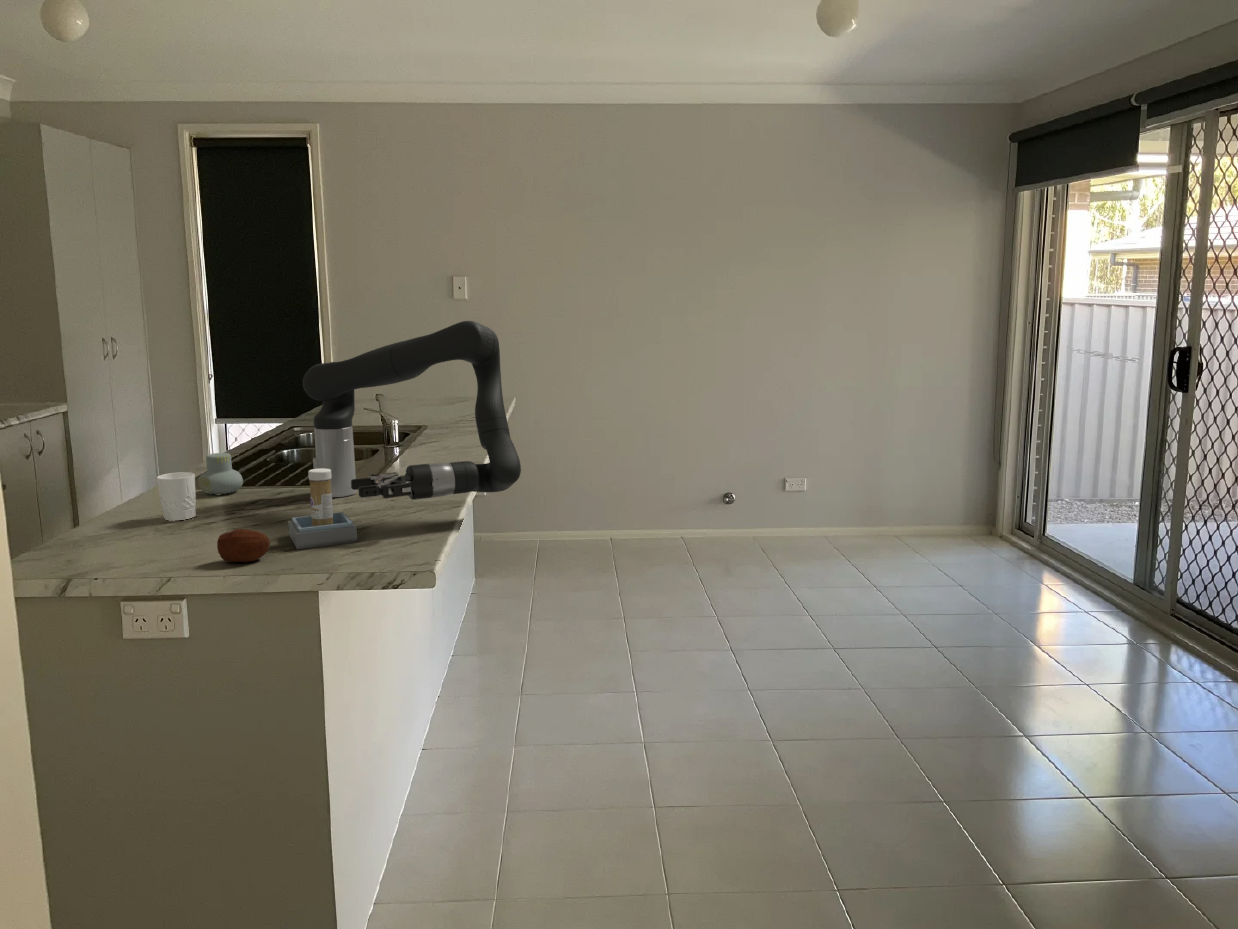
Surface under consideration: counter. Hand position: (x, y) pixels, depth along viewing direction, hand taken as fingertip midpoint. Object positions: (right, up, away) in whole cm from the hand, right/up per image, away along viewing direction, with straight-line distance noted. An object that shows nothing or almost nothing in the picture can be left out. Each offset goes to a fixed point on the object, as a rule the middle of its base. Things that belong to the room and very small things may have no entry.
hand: (355, 488), depth 204 cm
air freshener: (-46, -2, +44) cm, 64 cm away
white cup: (-45, -8, +18) cm, 49 cm away
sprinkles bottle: (-6, -9, -1) cm, 12 cm away
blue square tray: (-6, -11, -1) cm, 12 cm away
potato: (-17, -14, -16) cm, 27 cm away
